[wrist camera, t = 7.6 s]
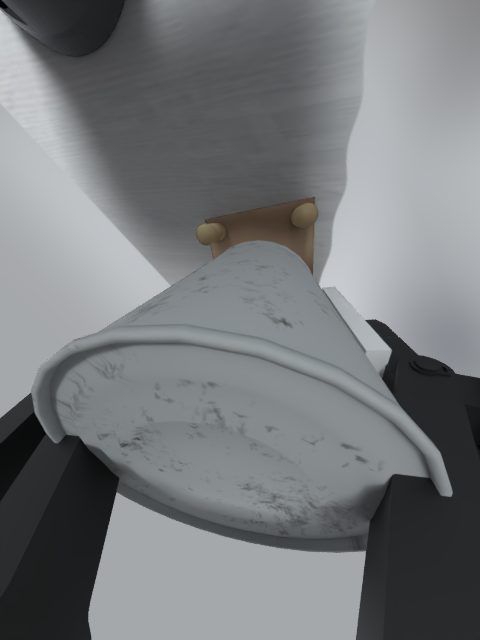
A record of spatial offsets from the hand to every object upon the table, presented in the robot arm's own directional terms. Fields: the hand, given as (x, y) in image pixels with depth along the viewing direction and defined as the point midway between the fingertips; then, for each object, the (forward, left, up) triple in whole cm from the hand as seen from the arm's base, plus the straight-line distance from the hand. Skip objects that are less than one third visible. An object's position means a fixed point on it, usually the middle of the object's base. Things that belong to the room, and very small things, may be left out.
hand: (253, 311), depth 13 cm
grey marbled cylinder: (0, 0, -2) cm, 2 cm away
